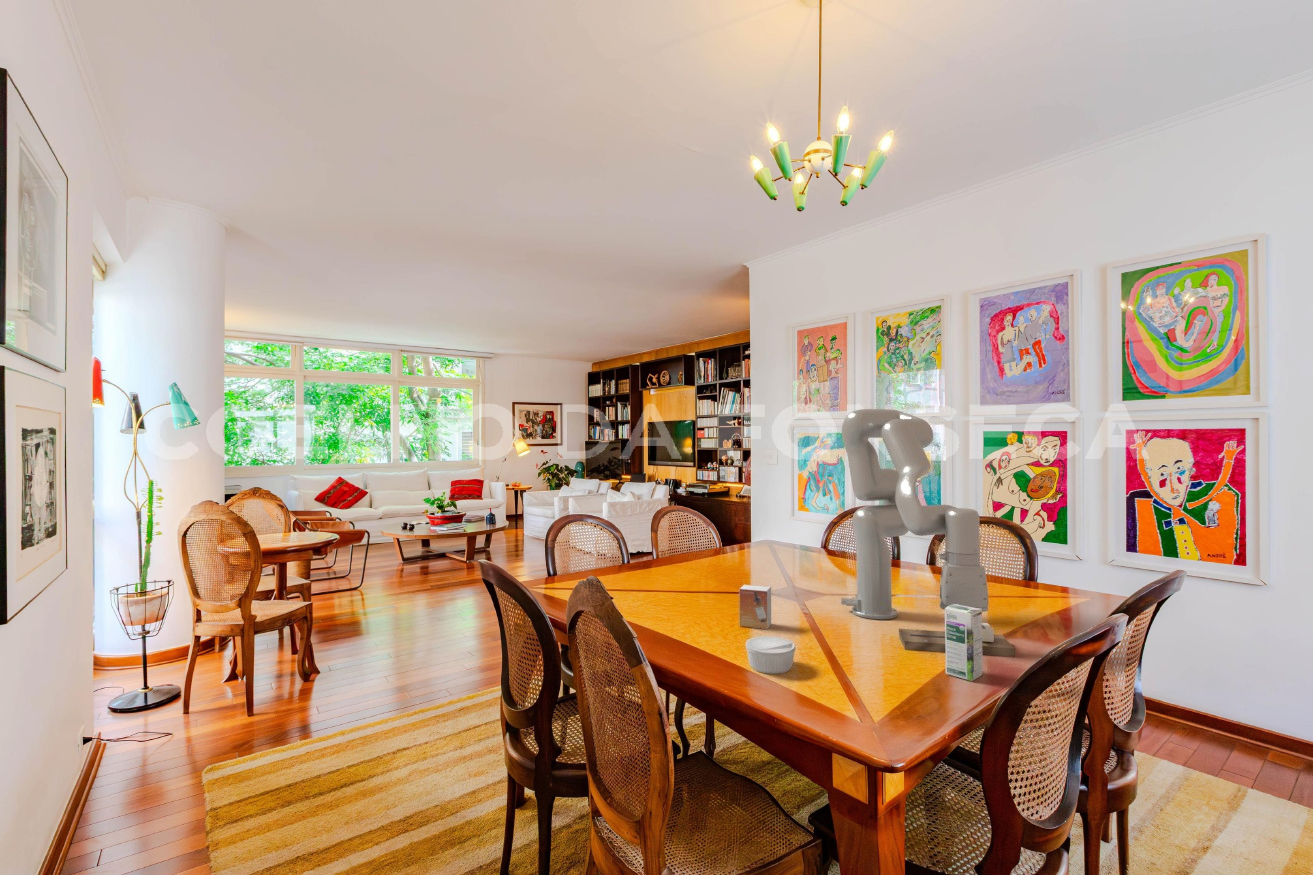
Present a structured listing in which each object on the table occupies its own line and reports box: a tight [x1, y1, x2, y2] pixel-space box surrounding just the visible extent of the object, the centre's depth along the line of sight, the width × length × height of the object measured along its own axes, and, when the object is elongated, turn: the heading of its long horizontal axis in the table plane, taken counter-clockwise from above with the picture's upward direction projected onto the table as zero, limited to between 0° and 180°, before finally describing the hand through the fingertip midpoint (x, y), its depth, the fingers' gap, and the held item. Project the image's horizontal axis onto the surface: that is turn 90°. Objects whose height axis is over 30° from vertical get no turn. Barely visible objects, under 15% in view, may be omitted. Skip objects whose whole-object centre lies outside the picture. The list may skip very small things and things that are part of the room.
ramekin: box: [745, 635, 796, 675], centre depth 136 cm, size 11×11×5 cm
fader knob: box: [982, 622, 995, 642], centre depth 146 cm, size 4×5×3 cm
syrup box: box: [944, 604, 984, 682], centre depth 130 cm, size 6×6×14 cm
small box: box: [738, 584, 772, 630], centre depth 167 cm, size 8×6×10 cm
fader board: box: [898, 628, 1016, 658], centre depth 148 cm, size 24×10×2 cm, turn 76°
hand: (963, 633), depth 147 cm, fingers closed
